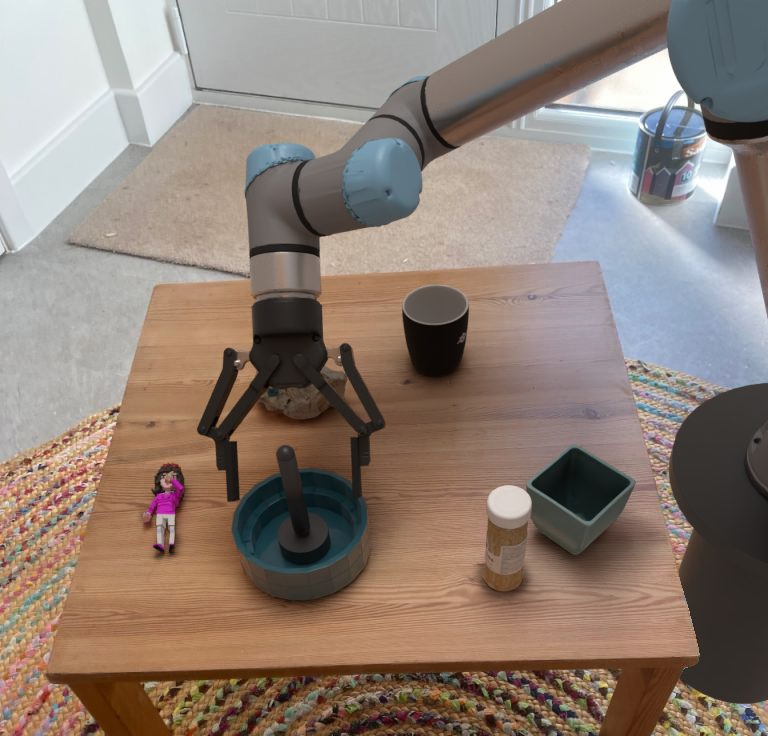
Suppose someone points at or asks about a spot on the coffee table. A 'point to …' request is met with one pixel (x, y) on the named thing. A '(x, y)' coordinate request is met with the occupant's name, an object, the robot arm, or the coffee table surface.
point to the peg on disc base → (299, 517)
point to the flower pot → (577, 498)
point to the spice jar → (506, 537)
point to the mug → (435, 328)
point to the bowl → (270, 508)
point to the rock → (303, 397)
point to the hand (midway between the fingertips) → (295, 499)
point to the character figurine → (166, 502)
